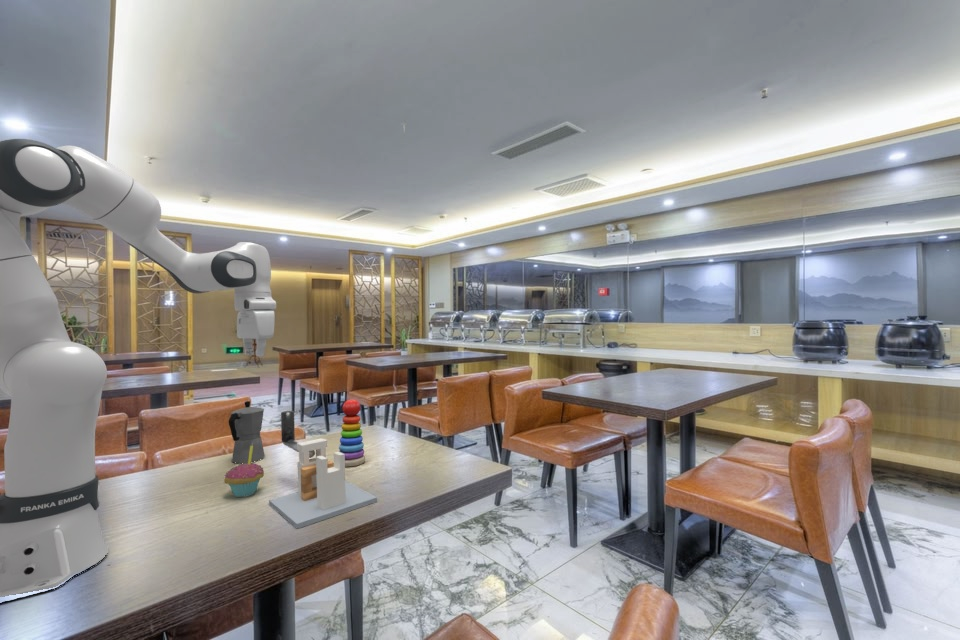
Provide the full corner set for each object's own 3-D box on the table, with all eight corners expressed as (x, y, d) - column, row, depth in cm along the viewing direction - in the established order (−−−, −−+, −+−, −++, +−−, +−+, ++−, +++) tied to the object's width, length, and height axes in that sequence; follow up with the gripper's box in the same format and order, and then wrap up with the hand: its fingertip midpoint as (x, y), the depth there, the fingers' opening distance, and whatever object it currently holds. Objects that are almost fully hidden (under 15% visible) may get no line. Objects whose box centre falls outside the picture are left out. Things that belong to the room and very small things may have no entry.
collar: (304, 501, 97) (303, 470, 97) (301, 498, 99) (300, 468, 99) (334, 492, 102) (333, 462, 102) (330, 490, 103) (329, 460, 104)
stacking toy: (357, 468, 122) (355, 402, 122) (331, 467, 124) (330, 401, 124) (370, 459, 130) (368, 397, 130) (345, 458, 131) (344, 397, 132)
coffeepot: (246, 453, 140) (245, 397, 140) (274, 452, 139) (273, 397, 140) (215, 469, 124) (213, 407, 125) (246, 468, 124) (245, 406, 124)
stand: (297, 528, 86) (295, 463, 86) (269, 504, 98) (267, 447, 98) (377, 501, 98) (375, 444, 98) (343, 483, 111) (342, 432, 111)
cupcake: (253, 484, 111) (252, 438, 111) (271, 491, 106) (270, 442, 106) (218, 495, 104) (217, 446, 104) (235, 503, 99) (234, 451, 99)
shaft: (304, 459, 102) (303, 421, 102) (279, 446, 114) (279, 412, 114) (317, 456, 104) (316, 419, 104) (292, 443, 116) (291, 410, 116)
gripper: (229, 305, 120) (231, 355, 120) (251, 301, 106) (253, 358, 105) (254, 306, 125) (255, 353, 125) (278, 302, 110) (280, 356, 110)
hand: (254, 355), depth 115 cm, fingers open, 8 cm apart
